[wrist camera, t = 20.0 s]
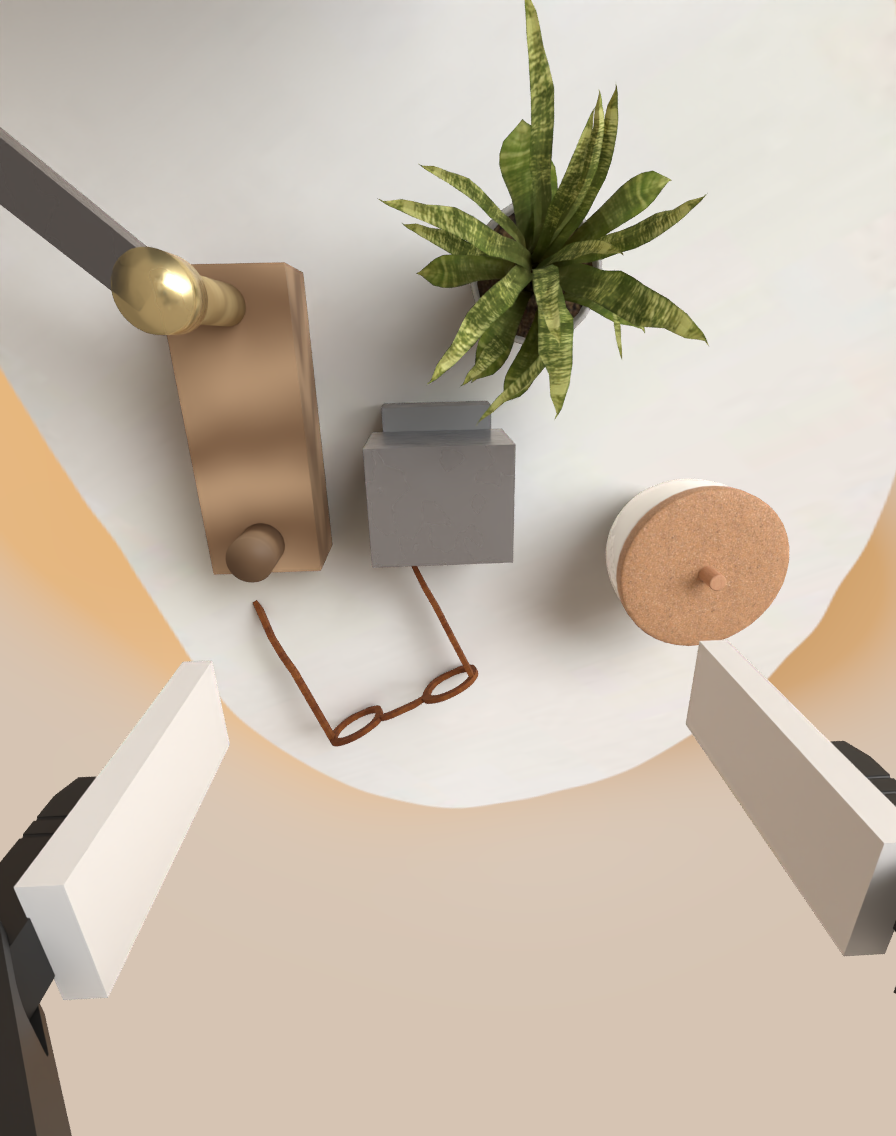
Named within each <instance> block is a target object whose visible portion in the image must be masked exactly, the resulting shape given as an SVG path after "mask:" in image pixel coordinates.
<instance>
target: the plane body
mask: <svg viewBox="0 0 896 1136" xmlns="http://www.w3.org/2000/svg"><path fill="white" fill-rule="evenodd" d="M191 265H192V266H193V267H194V268H195V269H196V270H197V272H198V273H199V275H200V276H201V278H202V280H203V282H204V284H205V287H206V290H207V295H208V308H207V312H206V315H205V318H204V320H203V321H202V323H201V324H200V325H199V326H198V327H197V328H196V329H195V330H193V331H192V332H190V333H187V334H183V335H167V339H168V344H169V349H170V354H171V359H172V364H173V369H174V374H175V379H176V384H177V390H178V395H179V400H180V405H181V410H182V415H183V420H184V425H185V430H186V435H187V440H188V446H189V451H190V456H191V461H192V466H193V471H194V476H195V481H196V486H197V491H198V497H199V502H200V507H201V512H202V517H203V522H204V527H205V532H206V537H207V542H208V548H209V553H210V558H211V563H212V568H213V573H214V574H233V575H234V576H235V577H237V578H238V579H240V580H242V581H246V582H259V581H262V580H264V579H265V578H267V577H268V576H269V574H270V573H271V572H296V571H321V569H322V567H323V565H324V562H325V560H326V558H327V556H328V553H329V551H330V549H331V547H332V537H331V528H330V519H329V509H328V500H327V491H326V482H325V472H324V463H323V454H322V444H321V435H320V426H319V417H318V407H317V398H316V389H315V379H314V370H313V361H312V351H311V342H310V333H309V324H308V314H307V305H306V296H305V286H304V277H303V272H301V271H299V270H297V269H295V268H294V267H292V266H290V265H288V264H286V263H285V262H282V263H236V264H191Z"/></svg>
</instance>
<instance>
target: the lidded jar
mask: <svg viewBox="0 0 896 1136" xmlns="http://www.w3.org/2000/svg"><path fill="white" fill-rule="evenodd" d="M606 563H607V570H608V574H609V577H610V580H611V583H612V586H613V588H614V590H615V592H616V594H617V596H618V597H619V599H620V601H621V602H622V604H623V606H624V608H625V610H626V612H627V613H628V615H629V616H630V617H631V619H632V620H633V621H634V622H635V624H636V625H637V626H638V627H639V628H641V629H642V630H643V631H644V632H645V633H647V634H648V635H650V636H652V637H653V638H655V639H658V640H660V641H663V642H666V643H670V644H675V645H686V646H693V645H699V641H711V640H722V639H725V638H728V637H730V636H732V635H734V634H736V633H738V632H740V631H741V630H743V629H744V628H746V627H747V626H749V625H751V624H752V623H753V622H754V621H755V620H756V619H757V618H759V617H760V616H761V615H762V614H763V613H764V611H765V610H766V609H767V608H768V607H769V606H770V605H771V603H772V602H773V600H774V599H775V597H776V596H777V594H778V592H779V590H780V588H781V587H782V585H783V582H784V579H785V576H786V573H787V568H788V563H789V543H788V537H787V533H786V531H785V528H784V525H783V523H782V522H781V520H780V518H779V517H778V515H777V514H776V513H775V512H774V510H773V509H772V508H771V507H770V506H769V505H768V504H766V503H765V502H763V501H762V500H761V499H759V498H757V497H755V496H753V495H751V494H749V493H747V492H745V491H742V490H739V489H735V488H731V487H729V486H726V485H724V484H720V483H716V482H712V481H708V480H701V479H676V480H671V481H666V482H663V483H660V484H657V485H655V486H652V487H650V488H648V489H646V490H644V491H643V492H641V493H639V494H638V495H637V496H635V497H634V498H633V499H631V500H630V501H629V502H628V503H627V504H626V505H625V506H624V508H623V509H622V510H621V512H620V513H619V514H618V515H617V517H616V519H615V521H614V523H613V525H612V527H611V530H610V533H609V536H608V540H607V545H606Z"/></svg>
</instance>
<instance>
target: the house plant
mask: <svg viewBox="0 0 896 1136" xmlns="http://www.w3.org/2000/svg"><path fill="white" fill-rule="evenodd" d="M525 12H526V33H527V44H528V55H529V75H530V91H531V125H529V124H528V123H526V122H525V121H524V120H523V119H522V120H521V122H520V123H519V124H518V125H517V127H516V128H515V129H514V130H513V131H512V132H511V133H510V134H509V136H508V137H507V138H506V139H505V140H504V141H503V144H502V147H501V151H500V160H499V165H500V169H501V173H502V177H503V179H504V181H505V184H506V186H507V189H508V191H509V194H510V196H511V199H512V204H510V205H509V206H507V207H506V208H504V209H503V210H500V209H499V208H498V207H497V206H496V205H495V204H494V203H493V201H492V200H491V199H490V198H489V197H488V196H487V195H486V194H485V193H484V192H483V191H482V190H481V188H479V187H478V186H477V185H476V184H475V183H473V182H472V181H471V180H470V179H469V178H466V177H464V176H461V175H458V174H455V173H451V172H448V171H446V170H443V169H441V168H438V167H435V166H422V165H420V164H419V163H418V164H419V165H420V166H421V167H423V168H424V169H426V170H427V171H429V172H431V173H432V174H434V175H436V176H437V177H439V178H440V179H442V180H444V181H445V182H447V183H449V184H450V185H452V186H453V187H455V188H456V189H458V190H459V191H461V192H462V193H463V194H465V195H466V196H468V197H469V198H470V199H472V200H473V201H474V202H476V203H477V204H478V205H479V206H480V207H481V208H482V209H483V210H484V211H485V212H486V213H487V215H488V216H489V217H490V218H492V220H491V221H490V222H489V223H488V224H487V225H485V224H484V223H482V222H481V221H479V220H478V219H476V218H475V217H473V216H471V215H469V214H467V213H465V212H463V211H461V210H460V209H458V208H456V207H448V206H440V205H426V204H422V203H418V202H414V201H408V200H403V199H400V200H392V201H382V200H380V199H379V200H380V201H382V202H383V203H385V204H386V205H388V206H390V207H393V208H395V209H397V210H400V211H402V212H404V213H406V214H408V215H410V216H412V217H414V218H417V219H420V220H422V221H425V222H427V223H429V224H431V225H434V226H436V227H438V228H440V229H435V228H429V227H426V226H423V225H419V224H403V223H402V224H403V225H404V226H405V227H407V228H408V229H410V230H412V231H413V232H415V233H417V234H418V235H420V236H421V237H423V238H425V239H427V240H429V241H430V242H432V243H433V244H435V245H437V246H438V247H440V248H442V249H444V250H445V251H447V252H449V253H451V255H442V256H440V257H438V258H436V259H434V260H433V261H432V262H430V263H429V264H428V265H427V266H426V267H425V268H423V269H422V270H421V271H420V272H418V273H416V274H419V275H421V276H422V277H424V278H425V279H426V280H427V281H429V282H430V283H431V284H432V285H434V286H438V287H442V288H453V287H459V286H463V285H466V284H469V283H471V288H472V292H473V296H474V300H475V305H474V306H473V307H472V308H471V309H470V311H469V312H468V313H467V314H466V316H465V318H464V320H463V322H462V324H461V326H460V329H459V331H458V333H457V335H456V337H455V339H454V341H453V343H452V344H451V346H450V347H449V349H448V350H447V351H446V353H445V354H444V355H443V357H442V358H441V360H440V361H439V362H438V364H437V366H436V368H435V371H434V374H433V376H432V379H431V381H430V382H429V383H431V382H433V381H435V380H436V379H437V378H439V377H440V376H441V375H442V374H443V373H445V372H446V371H447V370H448V369H450V368H451V367H452V366H453V365H454V364H455V363H456V362H457V361H458V360H459V359H460V358H461V357H462V356H463V355H464V354H465V353H466V352H467V351H468V350H469V349H470V348H471V347H472V346H473V345H474V344H475V343H476V342H477V341H478V339H479V338H480V339H479V341H478V346H477V350H476V359H475V365H474V367H473V368H472V369H471V370H470V371H469V373H468V374H467V375H466V378H465V380H464V383H463V385H465V384H466V383H468V382H469V381H470V380H472V382H473V381H475V380H476V379H479V378H483V377H486V376H490V375H493V374H494V373H495V372H496V371H498V370H499V369H500V368H501V367H502V365H503V364H504V363H505V361H506V360H507V358H508V356H509V354H510V352H511V349H512V346H513V343H514V342H516V343H520V344H522V346H521V349H520V351H519V352H518V354H517V356H516V358H515V359H514V361H513V363H512V365H511V366H510V368H509V370H508V372H507V374H506V376H505V381H504V392H503V393H501V394H500V395H499V396H498V397H497V398H496V400H495V401H494V402H493V403H492V404H491V406H490V407H489V408H488V409H487V411H486V412H485V413H484V414H483V415H482V417H481V418H480V420H479V421H478V422H480V421H481V420H482V419H484V418H485V417H487V416H489V415H490V414H491V413H493V412H494V411H495V410H496V409H497V408H498V407H499V406H500V405H502V404H503V403H504V402H506V401H508V400H511V399H514V398H517V397H520V396H521V395H522V394H523V393H524V392H526V391H527V390H528V388H529V387H530V385H531V384H532V382H533V381H534V380H535V378H536V377H537V376H538V375H539V374H540V373H541V371H542V370H543V369H544V368H545V367H546V369H547V371H548V373H549V381H550V395H551V399H552V401H553V404H554V406H555V409H556V413H557V415H556V417H557V416H558V414H559V412H560V410H561V409H562V406H563V403H564V400H565V396H566V393H567V390H568V387H569V384H570V376H571V369H572V350H573V331H574V329H575V328H576V327H577V326H578V325H579V324H580V323H581V322H582V321H583V319H584V318H585V317H586V316H587V314H588V312H589V310H590V309H591V310H593V311H595V312H597V313H598V314H600V315H602V316H604V317H605V318H607V319H609V320H611V321H613V322H614V328H615V334H616V340H617V344H618V348H619V352H620V356H621V358H622V346H621V327H620V324H623V325H629V326H634V327H637V328H640V329H642V330H643V331H644V333H645V329H644V327H655V328H665V329H667V330H669V331H671V332H673V333H675V334H677V335H680V336H682V337H684V338H689V339H698V340H703V341H705V342H706V343H707V340H706V338H705V336H704V334H703V332H702V331H701V330H700V329H699V328H698V326H697V325H696V324H695V323H694V322H693V321H692V319H691V318H690V317H689V316H688V315H687V313H685V312H684V311H683V310H681V309H680V308H679V307H677V306H676V305H675V304H674V303H672V302H671V301H670V300H669V299H667V298H666V297H664V296H662V295H660V294H659V293H657V292H655V291H653V290H652V289H650V288H648V287H647V286H645V285H643V284H642V283H641V282H639V281H638V280H636V279H635V278H634V277H632V276H630V275H628V274H626V273H624V272H622V271H604V270H602V259H604V258H607V257H610V256H612V255H615V254H618V253H621V254H622V255H623V253H622V252H625V251H628V250H632V249H635V248H637V247H639V246H641V245H643V244H645V243H648V242H650V241H651V240H653V239H654V238H656V237H658V236H659V235H661V234H662V233H664V232H665V231H666V230H668V229H669V228H671V227H672V226H673V225H675V224H676V223H677V222H679V221H680V220H681V219H682V218H684V217H685V216H686V215H687V214H688V213H689V212H690V211H691V210H692V209H693V208H694V207H695V206H696V205H697V204H698V203H699V202H701V200H702V199H703V198H704V197H705V196H706V195H705V196H704V197H701V198H697V199H693V200H689V201H687V202H685V203H684V204H682V205H680V206H679V207H677V208H675V209H673V210H669V211H663V212H660V213H656V214H654V215H652V216H650V217H648V218H647V219H645V220H643V221H641V222H639V223H637V224H636V225H633V226H631V227H629V228H626V229H624V230H621V231H618V232H615V233H611V234H608V233H609V232H610V231H612V230H614V229H615V228H617V227H619V226H620V225H622V224H623V223H625V222H627V221H628V220H630V219H632V218H633V217H635V216H636V215H638V214H639V213H641V212H642V211H644V210H645V209H646V208H647V207H648V206H649V205H650V204H651V203H652V202H653V201H654V200H655V199H656V197H657V196H658V194H659V193H660V192H661V190H662V189H663V188H664V187H665V185H666V184H667V183H668V182H669V181H671V179H669V178H667V177H665V176H663V175H661V174H659V173H657V172H654V171H649V172H644V173H641V174H639V175H637V176H635V177H633V178H631V179H630V180H629V181H627V182H626V183H625V184H624V185H622V186H621V187H620V188H619V189H618V190H617V191H616V192H615V193H614V194H613V195H612V196H611V197H610V198H609V199H608V200H607V201H606V202H605V203H604V204H603V205H602V206H601V207H600V208H599V209H598V210H597V211H596V212H595V213H594V214H593V215H592V216H591V217H590V218H589V219H588V220H586V219H585V217H586V215H587V213H588V212H589V210H590V208H591V206H592V204H593V202H594V200H595V198H596V196H597V194H598V192H599V190H600V188H601V186H602V184H603V183H604V181H605V179H606V176H607V173H608V170H609V167H610V164H611V160H612V156H613V152H614V147H615V141H616V135H617V126H618V92H617V86H616V89H615V91H614V94H613V96H612V98H611V100H610V102H609V104H608V106H607V110H606V114H605V119H604V112H603V107H602V99H601V94H600V91H599V96H598V100H597V104H596V107H595V108H594V109H595V114H594V127H593V113H594V109H593V111H592V113H591V115H590V117H589V119H588V122H587V124H586V126H585V128H584V130H583V132H582V134H581V137H580V139H579V142H578V144H577V147H576V149H575V151H574V154H573V156H572V158H571V161H570V163H569V166H568V168H567V170H566V173H565V175H564V177H563V179H562V182H561V184H560V186H559V188H558V187H557V176H556V170H555V166H554V164H553V162H552V160H551V158H552V144H553V128H554V85H553V81H552V77H551V73H550V68H549V64H548V61H547V57H546V54H545V50H544V47H543V42H542V36H541V31H540V26H539V21H538V17H537V12H536V10H535V8H534V5H533V3H532V1H531V0H525ZM592 128H593V129H592ZM606 234H608V235H606ZM463 239H464V240H463ZM465 240H466V241H465ZM467 241H468V242H467ZM707 345H708V343H707ZM708 346H709V345H708ZM472 382H471V383H472ZM429 383H428V384H429ZM461 386H462V385H461ZM556 417H555V418H556ZM554 420H555V419H554ZM477 424H478V423H477ZM476 426H477V425H476Z"/></svg>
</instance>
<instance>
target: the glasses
mask: <svg viewBox="0 0 896 1136" xmlns="http://www.w3.org/2000/svg"><path fill="white" fill-rule="evenodd" d="M411 567H412V569H413V571H414V573H415V575H416V577H417V579H418V581H419V583H420V585H421V587H422V589H423V591H424V593H425V595H426V596H427V598H428V600H429V602H430V603H431V605H432V607H433V609H434V611H435V613H436V614H437V616H438V618H439V620H440V622H441V624H442V626H443V628H444V630H445V632H446V634H447V636H448V638H449V639H450V641H451V643H452V645H453V647H454V649H455V651H456V653H457V655H458V657H459V659H460V661H461V663H462V664H463V666H460V667H457V668H455V669H453V670H450V671H448V672H446V673H444V674H442V675H440V676H439V677H437V678H435V679H434V680H433V681H432V682H430V683H429V684H428V686H427V687H426V688H425V690H424V692H423V695H422V696H421V697H419V698H418V699H416V700H414V701H412V702H410V703H408V704H406V705H403V706H401V707H399V708H397V709H394V710H392V711H390V712H387V713H384V714H383V710H382V709H381V707H380V706H371V707H368V708H366V709H364V710H362V711H360V712H357V713H355V714H353V715H351V716H350V717H348V718H347V719H345V720H344V721H342V722H341V723H340V724H339V725H338V726H337V727H336V728H335V729H334V730H332V729H331V727H330V725H329V723H328V722H327V720H326V718H325V716H324V715H323V713H322V711H321V710H320V708H319V706H318V704H317V703H316V701H315V699H314V697H313V696H312V694H311V692H310V690H309V689H308V687H307V685H306V684H305V682H304V680H303V678H302V677H301V675H300V673H299V671H298V670H297V668H296V667H295V665H294V664H293V663H292V661H291V660H290V658H289V657H288V656H287V654H286V653H285V651H284V650H283V648H282V646H281V645H280V643H279V641H278V640H277V638H276V637H275V634H274V632H273V630H272V627H271V625H270V623H269V620H268V618H267V616H266V614H265V611H264V609H263V608H262V606H261V605H260V604H259V602H258V601H257V600H256V601H254V602H253V604H254V607H255V609H256V611H257V614H258V616H259V618H260V621H261V623H262V625H263V628H264V630H265V632H266V635H267V637H268V639H269V641H270V642H271V644H272V646H273V647H274V649H275V651H276V653H277V654H278V656H279V658H280V659H281V661H282V662H283V663H284V665H285V666H286V668H287V669H288V671H289V672H290V673H291V675H292V677H293V678H294V680H295V682H296V684H297V685H298V687H299V689H300V691H301V692H302V694H303V696H304V697H305V699H306V701H307V703H308V704H309V706H310V708H311V709H312V711H313V713H314V715H315V716H316V718H317V720H318V722H319V723H320V725H321V727H322V728H323V730H324V732H325V734H326V735H327V737H328V739H329V740H330V742H331V744H332V745H333V746H342V745H345V744H348V743H350V742H353V741H355V740H357V739H359V738H360V737H362V736H364V735H365V734H367V733H368V732H370V731H371V730H372V729H374V728H375V727H376V726H377V725H378V724H379V723H380V722H381V721H385V720H389V719H392V718H394V717H396V716H398V715H401V714H403V713H405V712H407V711H410V710H412V709H414V708H416V707H417V706H419V705H421V704H422V703H423V702H425V703H426V704H433V703H438V702H442V701H445V700H447V699H450V698H452V697H454V696H456V695H458V694H459V693H461V692H463V691H464V690H466V689H467V688H468V687H470V686H471V685H472V684H473V683H474V682H475V680H476V679H477V677H478V670H477V669H476V667H475V666H474V665H470V664H469V663H468V661H467V659H466V657H465V655H464V653H463V651H462V649H461V647H460V645H459V643H458V642H457V640H456V638H455V636H454V634H453V632H452V630H451V628H450V626H449V624H448V622H447V620H446V618H445V616H444V614H443V613H442V611H441V609H440V607H439V605H438V603H437V601H436V600H435V598H434V596H433V595H432V593H431V591H430V590H429V588H428V586H427V584H426V582H425V581H424V579H423V577H422V575H421V573H420V571H419V569H418V567H417V566H411ZM463 672H467V674H468V676H469V677H468V678H467V679H466V680H465V681H464V682H463V683H462V684H460V685H459V686H457V687H455V688H454V689H452V690H450V691H448V692H445V693H442V694H439V695H431V693H432V691H433V689H434V688H435V687H436V686H437V685H438V684H440V683H441V682H443V681H444V680H446V679H448V678H450V677H452V676H454V675H456V674H459V673H463ZM371 713H376V714H375V717H374V718H373V720H372V721H371V722H370V723H369V724H367V725H366V726H365V727H363V728H362V729H360V730H359V731H357V732H355V733H353V734H351V735H349V736H346V737H343V738H338V736H339V734H340V732H341V731H342V730H343V729H344V728H345V727H346V726H347V725H349V724H350V723H352V722H353V721H355V720H357V719H358V718H361V717H363V716H365V715H368V714H371Z"/></svg>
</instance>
